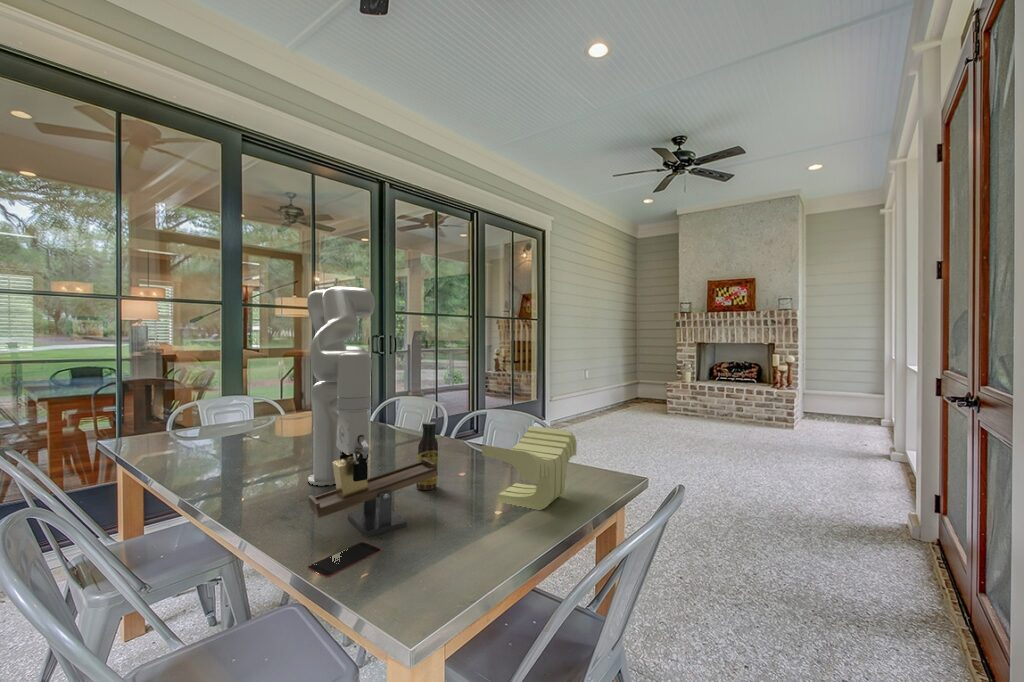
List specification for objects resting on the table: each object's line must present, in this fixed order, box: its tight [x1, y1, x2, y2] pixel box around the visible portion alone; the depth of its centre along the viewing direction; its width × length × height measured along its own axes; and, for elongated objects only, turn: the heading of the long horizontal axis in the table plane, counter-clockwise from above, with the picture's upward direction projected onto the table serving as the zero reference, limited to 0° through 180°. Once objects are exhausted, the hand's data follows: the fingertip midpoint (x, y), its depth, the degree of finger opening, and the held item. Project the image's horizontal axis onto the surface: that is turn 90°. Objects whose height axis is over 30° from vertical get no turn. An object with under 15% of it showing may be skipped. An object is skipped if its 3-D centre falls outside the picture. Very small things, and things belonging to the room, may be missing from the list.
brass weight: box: [332, 455, 369, 499], centre depth 111 cm, size 5×6×8 cm
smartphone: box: [307, 541, 382, 578], centre depth 96 cm, size 7×1×14 cm
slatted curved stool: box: [481, 425, 578, 511], centre depth 132 cm, size 30×16×18 cm, turn 153°
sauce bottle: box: [415, 421, 439, 491], centre depth 141 cm, size 6×6×20 cm
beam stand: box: [347, 490, 408, 538], centre depth 115 cm, size 13×10×9 cm
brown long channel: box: [307, 458, 439, 519], centre depth 114 cm, size 8×30×4 cm, turn 128°
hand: (353, 475), depth 111 cm, fingers open, 9 cm apart
